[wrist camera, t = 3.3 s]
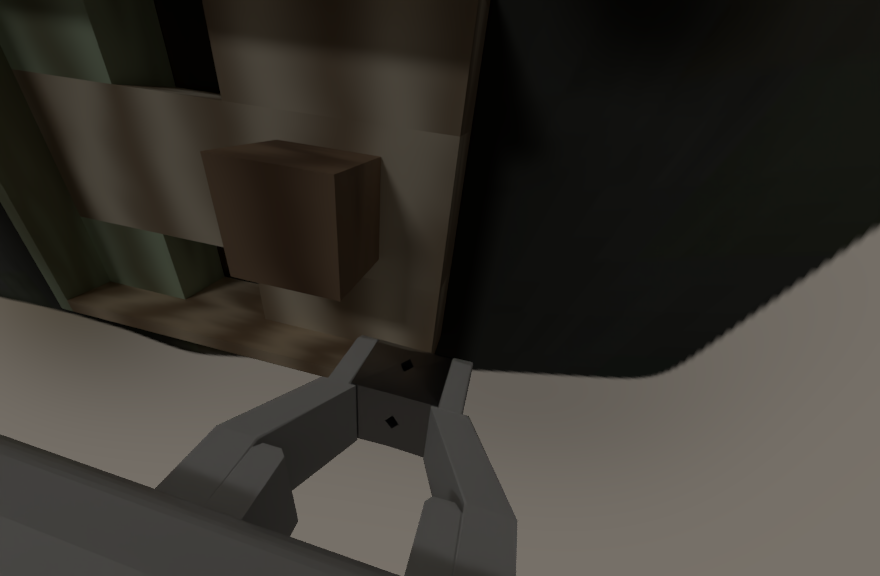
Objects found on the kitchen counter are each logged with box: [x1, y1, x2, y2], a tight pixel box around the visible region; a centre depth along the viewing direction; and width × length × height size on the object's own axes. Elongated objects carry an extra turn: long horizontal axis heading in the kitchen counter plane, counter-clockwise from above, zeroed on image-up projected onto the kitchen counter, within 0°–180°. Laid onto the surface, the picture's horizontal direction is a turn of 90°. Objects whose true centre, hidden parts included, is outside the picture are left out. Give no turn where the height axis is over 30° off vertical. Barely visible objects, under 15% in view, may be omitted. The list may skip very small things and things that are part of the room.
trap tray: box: [0, 0, 490, 378], centre depth 20 cm, size 28×22×7 cm
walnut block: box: [200, 140, 381, 302], centre depth 17 cm, size 6×6×5 cm
